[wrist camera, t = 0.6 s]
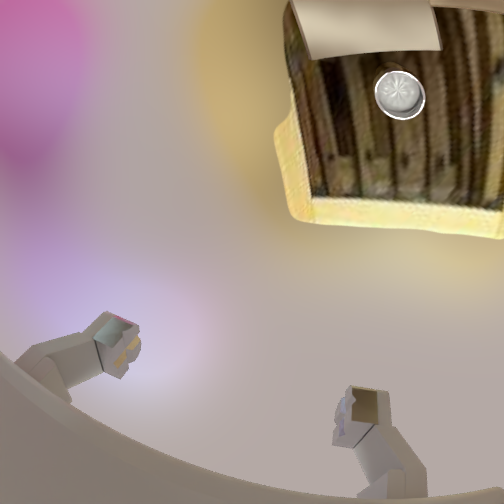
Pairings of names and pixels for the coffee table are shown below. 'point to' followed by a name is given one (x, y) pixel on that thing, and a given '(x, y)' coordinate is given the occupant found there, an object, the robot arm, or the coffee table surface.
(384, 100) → the beer glass
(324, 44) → the beige t-shaped block
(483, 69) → the coffee table surface
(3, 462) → the robot arm
